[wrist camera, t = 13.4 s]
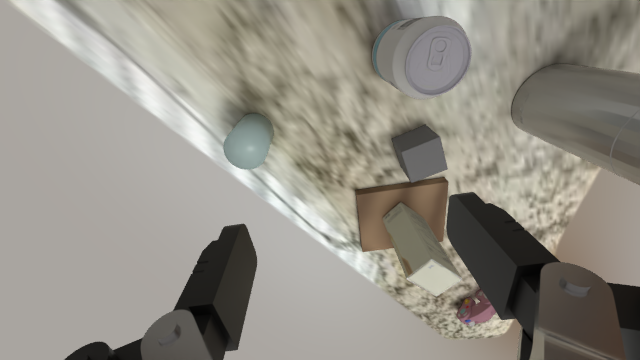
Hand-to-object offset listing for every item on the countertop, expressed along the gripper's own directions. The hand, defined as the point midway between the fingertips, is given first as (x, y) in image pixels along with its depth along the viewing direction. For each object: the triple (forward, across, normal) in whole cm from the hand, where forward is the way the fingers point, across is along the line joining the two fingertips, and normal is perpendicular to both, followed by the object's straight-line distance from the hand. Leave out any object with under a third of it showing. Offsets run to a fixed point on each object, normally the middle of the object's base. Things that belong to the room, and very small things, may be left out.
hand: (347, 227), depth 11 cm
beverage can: (+28, -10, -3) cm, 30 cm away
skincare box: (+27, -10, +22) cm, 36 cm away
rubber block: (+28, -12, +10) cm, 32 cm away
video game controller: (+28, -25, +46) cm, 60 cm away
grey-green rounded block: (+28, +10, +4) cm, 30 cm away
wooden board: (+28, -10, +22) cm, 37 cm away
